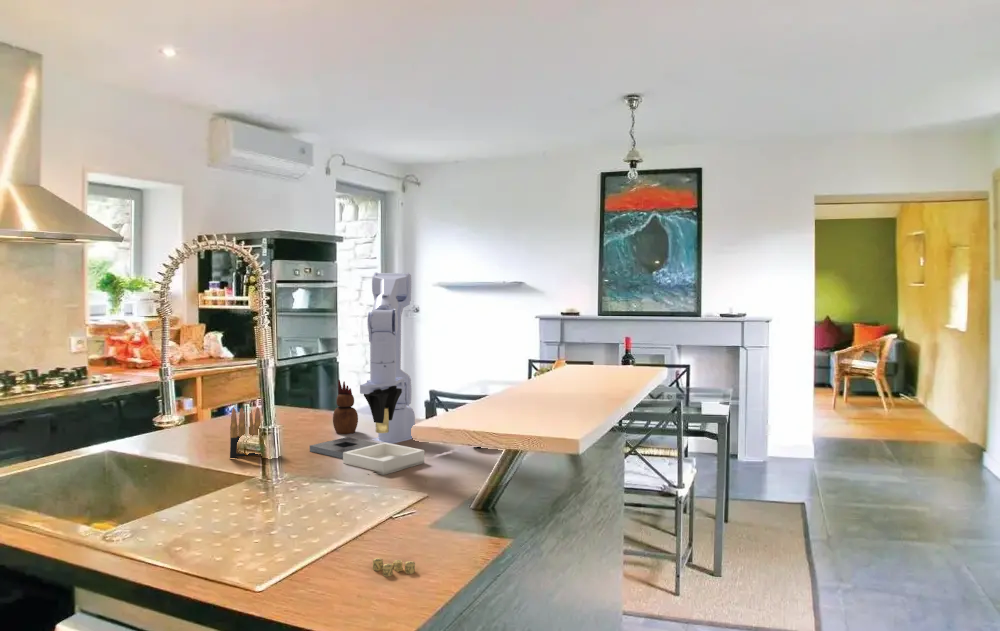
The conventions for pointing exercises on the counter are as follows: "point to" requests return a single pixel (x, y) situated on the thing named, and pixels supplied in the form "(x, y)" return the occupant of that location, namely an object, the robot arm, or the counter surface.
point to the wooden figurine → (345, 411)
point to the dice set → (389, 567)
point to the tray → (384, 457)
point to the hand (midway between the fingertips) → (383, 421)
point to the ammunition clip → (242, 431)
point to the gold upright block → (385, 425)
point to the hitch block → (340, 446)
